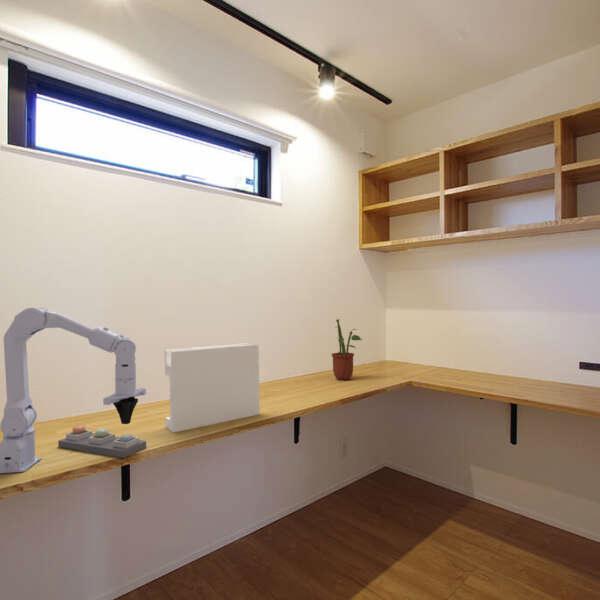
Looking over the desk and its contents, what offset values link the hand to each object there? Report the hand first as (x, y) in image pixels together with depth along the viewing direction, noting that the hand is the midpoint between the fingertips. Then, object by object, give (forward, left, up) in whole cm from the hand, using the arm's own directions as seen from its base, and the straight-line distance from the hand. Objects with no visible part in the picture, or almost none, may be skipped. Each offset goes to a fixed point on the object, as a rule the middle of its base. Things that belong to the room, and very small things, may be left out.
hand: (125, 423), depth 120 cm
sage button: (+5, +9, -5) cm, 11 cm away
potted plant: (+100, -94, -9) cm, 138 cm away
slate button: (0, 0, -5) cm, 5 cm away
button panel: (+5, +9, -8) cm, 13 cm away
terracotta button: (+10, +17, -5) cm, 20 cm away
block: (+28, -24, -9) cm, 38 cm away
